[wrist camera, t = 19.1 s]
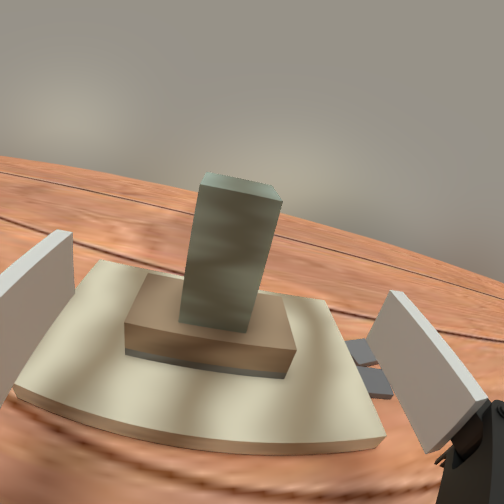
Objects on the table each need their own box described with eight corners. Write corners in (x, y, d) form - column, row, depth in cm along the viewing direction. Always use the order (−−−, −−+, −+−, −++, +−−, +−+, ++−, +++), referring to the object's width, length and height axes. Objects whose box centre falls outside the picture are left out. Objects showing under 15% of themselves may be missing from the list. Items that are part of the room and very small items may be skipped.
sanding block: (125, 354, 16) (132, 177, 12) (145, 302, 22) (161, 161, 18) (284, 379, 18) (345, 221, 14) (272, 324, 23) (313, 193, 19)
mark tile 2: (354, 372, 22) (359, 364, 22) (336, 350, 25) (340, 341, 24) (377, 367, 23) (382, 358, 23) (360, 346, 26) (364, 338, 26)
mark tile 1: (354, 400, 19) (360, 391, 19) (349, 373, 22) (354, 365, 22) (387, 403, 19) (393, 394, 19) (379, 378, 22) (384, 369, 22)
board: (17, 397, 11) (9, 381, 11) (99, 273, 26) (99, 259, 25) (375, 448, 15) (386, 435, 14) (319, 312, 29) (324, 300, 29)
